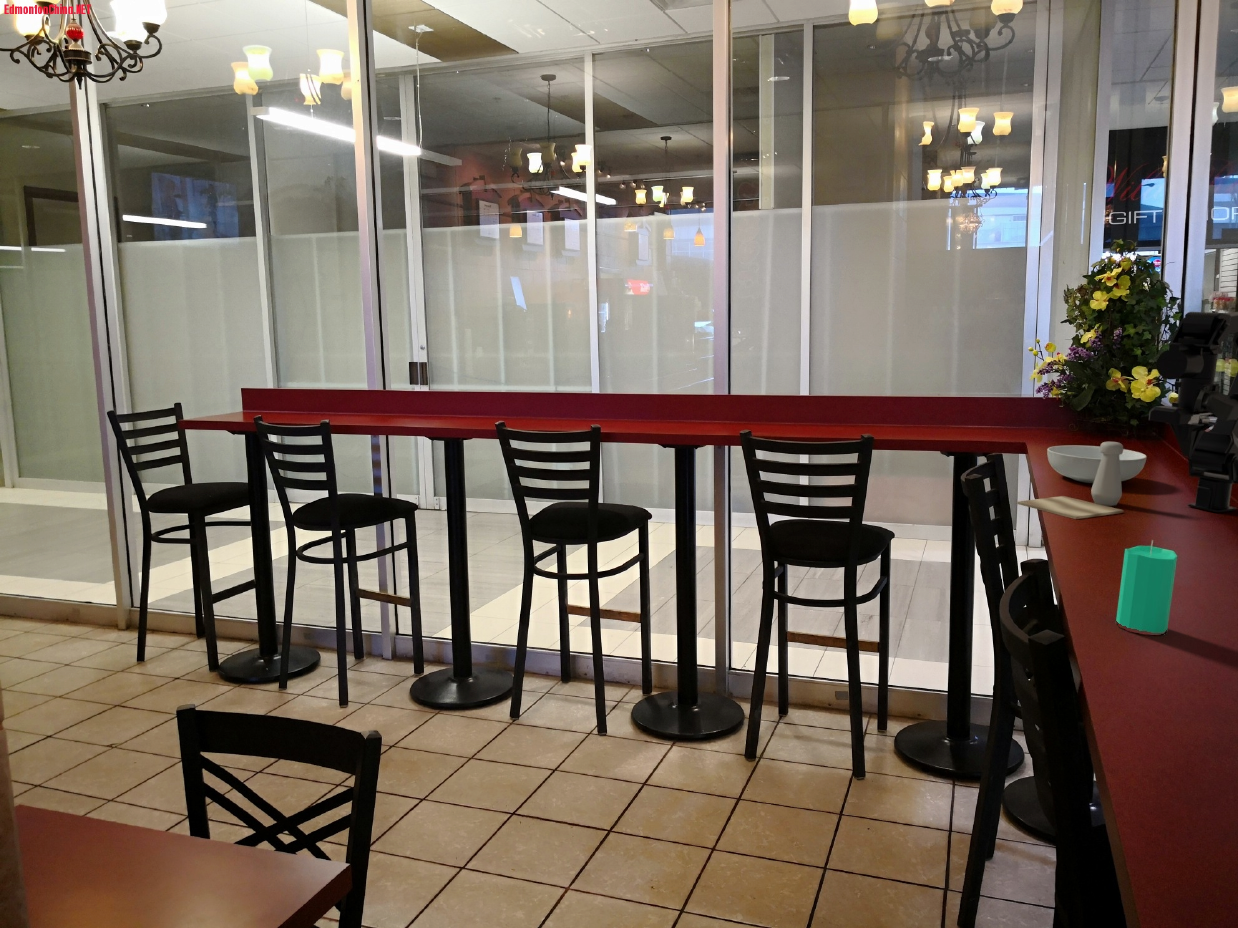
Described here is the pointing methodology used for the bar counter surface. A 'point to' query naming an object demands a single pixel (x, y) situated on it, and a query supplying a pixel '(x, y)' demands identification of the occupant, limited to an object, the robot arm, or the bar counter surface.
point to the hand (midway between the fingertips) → (1187, 456)
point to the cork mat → (1070, 507)
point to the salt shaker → (1108, 475)
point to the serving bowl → (1091, 462)
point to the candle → (1146, 588)
